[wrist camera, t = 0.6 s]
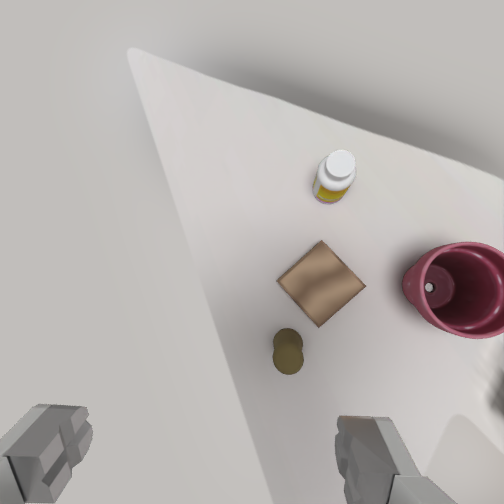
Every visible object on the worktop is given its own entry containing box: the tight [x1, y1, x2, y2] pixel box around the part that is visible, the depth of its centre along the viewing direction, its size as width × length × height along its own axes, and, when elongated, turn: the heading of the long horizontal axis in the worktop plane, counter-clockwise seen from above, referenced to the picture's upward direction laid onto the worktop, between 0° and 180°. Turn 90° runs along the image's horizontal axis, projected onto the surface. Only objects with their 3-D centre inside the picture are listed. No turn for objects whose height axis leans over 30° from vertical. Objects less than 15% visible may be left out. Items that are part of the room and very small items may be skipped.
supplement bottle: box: [313, 150, 356, 204], centre depth 48 cm, size 7×7×13 cm
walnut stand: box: [277, 240, 366, 328], centre depth 51 cm, size 12×12×4 cm
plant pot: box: [402, 242, 504, 339], centre depth 44 cm, size 14×14×13 cm
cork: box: [273, 328, 304, 375], centre depth 47 cm, size 6×6×11 cm
